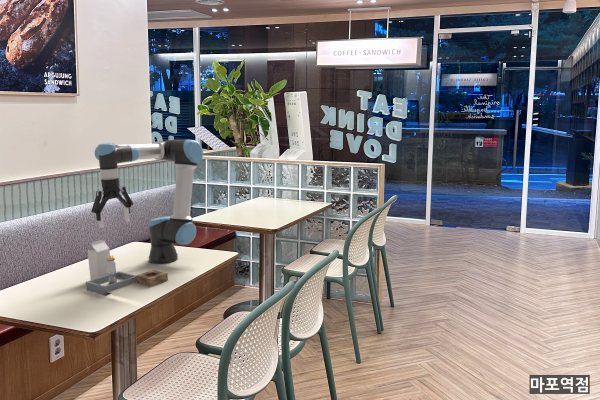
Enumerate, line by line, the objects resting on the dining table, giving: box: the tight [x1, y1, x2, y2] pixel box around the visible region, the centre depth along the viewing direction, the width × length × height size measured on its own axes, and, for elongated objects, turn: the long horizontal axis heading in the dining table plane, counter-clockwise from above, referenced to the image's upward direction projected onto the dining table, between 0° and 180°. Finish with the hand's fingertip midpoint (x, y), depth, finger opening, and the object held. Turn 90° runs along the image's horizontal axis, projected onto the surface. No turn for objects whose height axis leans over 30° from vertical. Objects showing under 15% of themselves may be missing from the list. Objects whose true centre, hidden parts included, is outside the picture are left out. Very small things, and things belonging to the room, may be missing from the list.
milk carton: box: [87, 239, 111, 281], centre depth 260 cm, size 7×7×19 cm
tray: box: [85, 270, 137, 297], centre depth 249 cm, size 18×14×4 cm
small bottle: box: [106, 255, 118, 285], centre depth 248 cm, size 4×4×14 cm
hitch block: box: [135, 269, 169, 288], centre depth 251 cm, size 10×10×5 cm
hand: (114, 224), depth 247 cm, fingers open, 13 cm apart
